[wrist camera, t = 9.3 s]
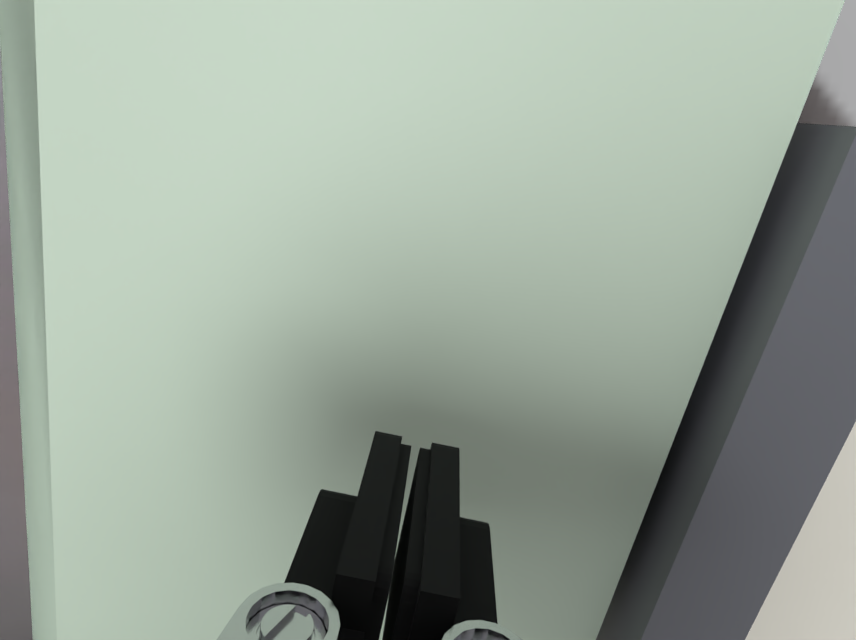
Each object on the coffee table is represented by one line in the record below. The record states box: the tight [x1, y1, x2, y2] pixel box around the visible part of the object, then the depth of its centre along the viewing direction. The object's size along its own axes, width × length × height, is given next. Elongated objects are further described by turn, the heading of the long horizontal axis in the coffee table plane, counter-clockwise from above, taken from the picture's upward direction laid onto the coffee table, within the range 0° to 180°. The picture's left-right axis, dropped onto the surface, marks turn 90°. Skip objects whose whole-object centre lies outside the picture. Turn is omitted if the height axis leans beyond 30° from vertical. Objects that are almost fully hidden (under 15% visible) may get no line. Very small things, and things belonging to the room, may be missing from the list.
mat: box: [745, 422, 856, 640], centre depth 18 cm, size 15×10×1 cm
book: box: [0, 0, 845, 640], centre depth 15 cm, size 22×15×4 cm
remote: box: [596, 123, 856, 640], centre depth 14 cm, size 14×5×2 cm
